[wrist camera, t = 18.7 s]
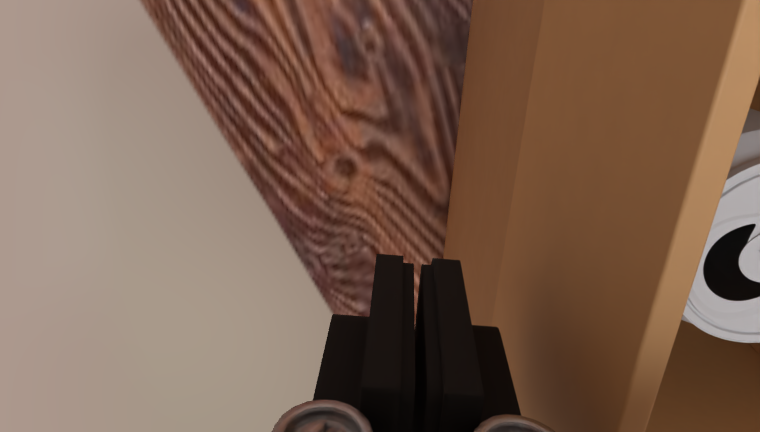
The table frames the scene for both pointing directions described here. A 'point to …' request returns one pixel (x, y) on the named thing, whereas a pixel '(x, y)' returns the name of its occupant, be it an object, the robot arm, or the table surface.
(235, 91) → the table surface
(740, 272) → the beverage can
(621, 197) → the flap
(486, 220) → the carton
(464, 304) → the robot arm
